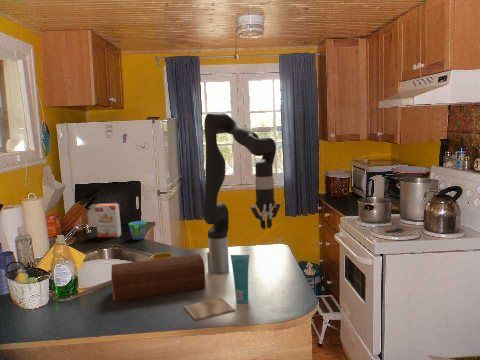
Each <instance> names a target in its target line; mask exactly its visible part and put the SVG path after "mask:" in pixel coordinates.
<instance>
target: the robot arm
mask: <svg viewBox="0 0 480 360" xmlns="http://www.w3.org/2000/svg"><path fill="white" fill-rule="evenodd" d="M203 123H204V124H203V125H204V126H203V127H204V140H205V164H204V165H205V171H204V172H205V174H204V175H205V179H204V180H205V181H204V182H205V183H204V184H205V185H204V187H205V188H204V199H203V200H204V201H203V205H202V208H203V209H202V216H203V219H204V222H205V223H206V224H207V225H212V226H211V228H210V229H208V231H207V243H208V252H207V253H206V258H207V271H208V273H211V274H212V275H224V274H227V273H229V272H230V266H229V265H230V264H229V262H230V261H229V245H228V244H229V243H228V240H229V239H228V232H229V219H230V218H229V215H230V214H229V209H228V206H227V204H225V203H224V202H221V201H219V202H218V195H219V193H220V190H221V188H222V186H223V184H224V181H225V178H226V161H225V158H224V155H223V154H222V153H221V150H220V148H219V146H218V141H217V140H218V139H217V138H218V137H217V134H229V135H232V136H233V139H234V140H235V141H236V143H238V144H240V146H243V147H245V148H246V149H247V150H248V151H249V152H250V154H252V155H253V156H255V157H261V156H262V157H261V160H259V161H257V162H256V163H255V166H254V167H255V179H254V180H255V181H254V182H255V185H254V186H255V200H256V201H255V204H254V205H253V206H250V208H249V209H250V210H251V212H252V214H253V216H254V217H255V219H257V220H259V221H260V228H261V229H262V230H266V228H267V229H271V228H272V225H273V218H276V217H277V214H278V212H279V210H280V207H281V204H280V203H277V202H276V200H275V181H274V172H273V170H274V169H273V166H274V162H275V156H276V151H277V144H276V142H275V140H274V139H273V138H272V137H261V138H260V137H259V136H258V134H257V133H256V132H254V131H252V130H250V129H248V128H246V127H244V126H242V125H241V124H240V123H238V122H237V121H236V120H235V119H233V118H232V116H230V115H229V114H227V113H225V112H212V113H211V112H209V113H207V114H206V115H205V118H204V122H203Z"/></svg>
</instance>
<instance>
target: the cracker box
mask: <svg viewBox="0 0 480 360" xmlns="http://www.w3.org/2000/svg"><path fill="white" fill-rule="evenodd" d="M94 211H95V223H96V230H97V231H96V233H97V234H96V235H97V238H119V237H120V236H122V227H121V215H120V204H119V203H110V204H109V203H106V204H105V203H104V204H103V203H98V204H95V206H94Z"/></svg>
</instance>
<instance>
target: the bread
mask: <svg viewBox="0 0 480 360" xmlns="http://www.w3.org/2000/svg"><path fill="white" fill-rule="evenodd" d="M204 262H205V261H204V260H203V257H202V256H201V254H200V253H196V254H195V253H194V254H188V255H187V254H186V255H181V256H175V257H174V256H173V258H165V259H156V260H151V259H150V260H141V261H140V260H139V261H133V262H123V263H115V264H111V271H110V272H111V289H112V300H113V301H114V302H115V303H116V302H124V301H129V300H136V299H137V300H139V299H143V298H144V299H146V298H151V297H158V296H165V295H171V294H172V295H174V294H179V293H185V292H186V291H187V292H194V291H199V290H205V288H206V286H207V283H206V282H207V281H206V271H205V269H206V268H205V263H204ZM187 292H186V293H187Z"/></svg>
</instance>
